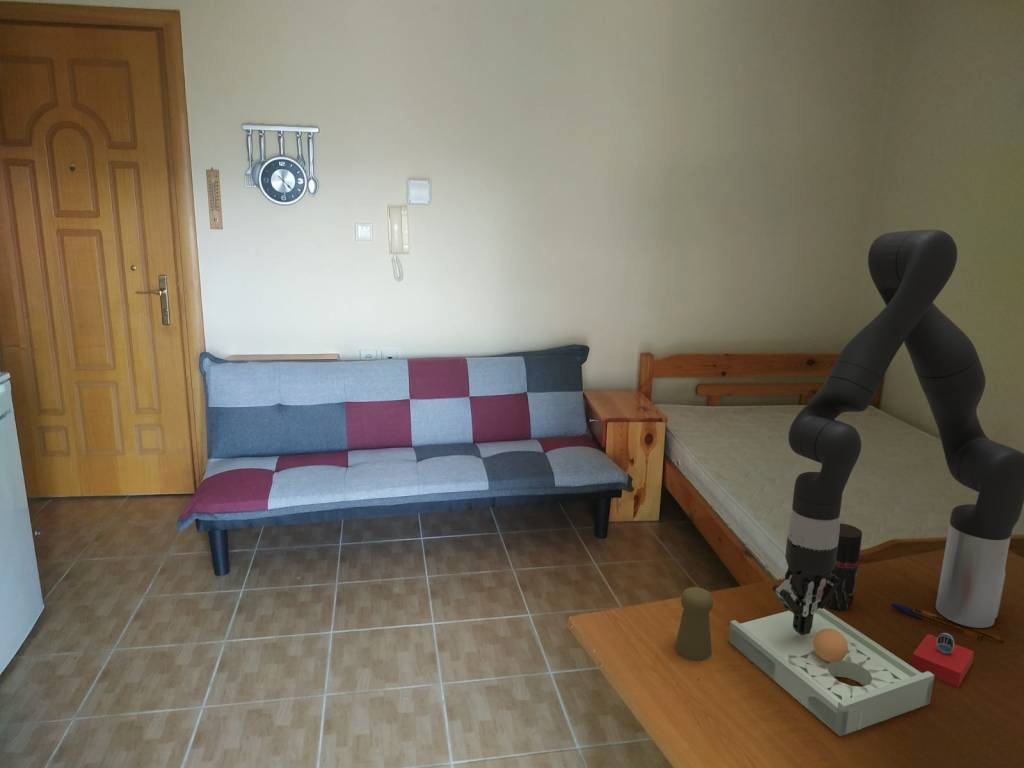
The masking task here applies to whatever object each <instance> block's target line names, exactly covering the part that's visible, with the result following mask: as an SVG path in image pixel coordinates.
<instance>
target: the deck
mask: <svg viewBox="0 0 1024 768" xmlns="http://www.w3.org/2000/svg"><path fill="white" fill-rule="evenodd" d="M793 619H794V614H793V613H792V612H791V611H789V610H786V611H783V612H779V613H774V614H772V615H771V614H770V615H767V616H764V617H761V618H757V619H752V620H749V621H748V620H747V621H745V622H742V623H740V622H738V621H737V620H735V619H734V620H731V621H730V623H729V633H728V643H729V642H730V643H729V644H730V645H732V646H733V647H734V646H735V647H734V648H735V649H737V650H738V651H739V652H740V653H741V654H742V653H743V654H742V655H743V656H745V657H746V658H747V659H748V660H749V661H750V662H752V664H754V665H755V666H756V667H757V668H759V669H760V670H761V671H762V672H763V673H765V674H766V676H768V677H769V678H770V679H772V680H773V681H774V682H775V683H776V684H777V685H779V686H780V687H781V688H782V690H785V691H786V693H788V694H789V695H790V696H791V697H792V698H794V699H795V700H797V702H799V704H801V705H802V706H804V707H805V708H806V710H808V711H809V712H811V713H812V714H813V715H814V716H815V717H816V718H818V719H819V720H820V721H821V722H822V723H823V724H824V725H826V726H827V727H828V728H829V729H831V730H832V731H833V732H834V733H835V734H836V735H837V736H838V737H842V736H846V735H849V734H851V733H854V732H856V731H861V730H862V729H865V728H868V727H871V726H873V725H875V724H879V723H881V722H883V721H887V720H889V719H891V718H894V717H897V716H900V715H902V714H903V715H904V714H905V713H908V712H912V711H914V710H916V709H919V708H922V707H925V706H927V705H930V703H931V699H932V691H933V686H934V685H933V684H934V682H935V681H934V679H935V678H934V674H932V673H931V672H929V671H927V672H924V673H922V672H919V671H918V670H916V669H915V668H913V667H912V666H911V664H909V663H907V662H905V661H904V660H903V659H901V658H900V657H898V656H896V655H895V654H893V653H892V652H891V651H889V650H887V649H886V648H884V647H883V646H881V645H880V644H879V643H877V642H875V641H874V640H873V639H872V638H869V637H868V636H866V635H865V634H863V632H860V631H859V630H858V629H856V628H854V627H853V626H851V625H850V624H848V623H846V622H845V621H843V619H841V618H840V617H837V616H836V615H835V614H833V613H831V611H829V610H827V608H826V609H825V607H824V608H823V609H820V608H818V609H817V611H816V613H815V614H814V615H813V623H812V628H811V631H810V633H809V634H806V635H800V634H799V633H798V632H796V631H795V630H794V628H793ZM823 629H833V630H836V631H838V632H839V633H841V634H842V635H843V636H844V638H845V639H846V641H847V644H848V651H847V654H846V656H845V657H844V658H843V659H842V660H841V661H838V662H828V661H825V660H823V659H822V658H820V657H819V656H818V655H817V653H816V652H815V649H814V646H813V640H814V637H815V635H816V634H817V633H818V632H819V631H820V630H823ZM835 677H836V678H835ZM837 677H838V678H847V679H849V680H853V681H854V682H857V683H859V684H860V685H861V686H858V685H857V686H856V685H849V684H847V683H844V682H842V681H839V680H838V679H837Z"/></svg>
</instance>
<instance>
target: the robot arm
mask: <svg viewBox="0 0 1024 768" xmlns="http://www.w3.org/2000/svg"><path fill="white" fill-rule="evenodd" d="M867 257H868V258H867V266H868V271H869V275H870V277H871V280H872V282H873V284H874V286H875V287H876V289H877V291H878V293H879V296H880V297H881V299H882V300H883V302H884V305H885V307H884V308H883V309H882V310H881V311H880V312H879V314H878V315H877V316H876V317H874V318H873V320H871V321H870V322H869V323H867V325H865V326H864V327H863V328H862V329H861V330H859V332H857V334H855V335H854V337H852V338H851V339H850V340H849V342H848V343H846V345H845V346H844V347H843V349H842V351H841V352H840V353H839V355H838V357H837V359H836V361H835V363H834V364H833V367H832V369H831V371H830V373H829V375H828V377H827V379H826V380H825V383H824V385H823V387H821V389H819V390H818V392H817V393H815V395H814V396H813V397H812V398H811V399H810V401H808V403H807V404H806V405H805V406H804V407H803V408H802V410H800V412H798V414H797V415H796V416H795V418H794V419H793V421H792V422H791V424H790V428H789V431H788V443H789V444H788V445H789V447H790V449H791V450H792V451H793V452H794V453H796V454H797V455H798V456H801V457H802V458H806V459H809V460H812V461H814V462H817V463H820V464H821V469H820V471H805V472H802V473H800V474H798V475H797V477H796V479H795V481H794V482H795V483H794V489H793V498H792V504H791V505H792V506H791V512H790V515H789V520H788V527H787V536H786V547H785V555H784V557H785V560H786V564H787V569H786V570H787V571H786V572H785V574H784V579H785V580H784V581H783V582H782V583H781V584H780V585H779V584H774V585H773V586H772V591H773V594H774V595H775V596H776V597H777V599H778V600H779V601H780V603H781V604H782V606H783V607H784V608H785V609H786V610H787V611H791V612H792V613H793V614H794V619H793V628H794V630H795V631H796V632H798V633H799V634H800V635H806V634H809V633H810V631H811V628H812V623H813V615H814V614H815V613H816V611H817V609H818V608H820V609H823V608H824V609H825V608H826V607H825V605H826V604H827V602H828V601H829V599H830V598H831V596H832V595H833V593H834V592H835V590H836V589H837V588H838V586H839V585H840V583H841V579H840V578H838V577H837V576H835V575H833V574H832V570H833V569H834V568H835V563H836V555H837V547H838V540H839V531H840V523H841V522H840V521H841V519H840V518H841V517H840V516H841V508H842V500H843V494H844V493H843V492H844V490H845V489H846V485H847V483H848V481H849V478H850V476H851V474H852V472H853V469H854V467H855V465H856V464H857V462H858V459H859V457H860V454H861V452H862V451H861V450H862V439H861V437H860V434H859V432H858V430H857V429H856V428H855V427H854V426H853V425H851V424H849V423H847V422H843V421H840V420H837V419H836V418H838V417H839V416H841V414H843V413H849V412H850V413H858V412H859V413H860V412H863V411H865V410H867V408H868V407H869V406H870V404H871V402H872V400H873V398H874V396H875V394H876V392H877V390H878V389H879V386H880V384H881V383H882V381H883V378H884V376H885V374H886V372H887V370H888V368H889V367H890V365H891V363H892V361H893V360H894V358H895V356H896V354H897V353H898V351H899V350H900V349H901V347H902V345H903V344H904V345H905V348H906V350H907V353H908V355H909V358H910V360H911V364H912V366H913V369H914V371H915V373H916V376H917V379H918V382H919V384H920V387H921V389H922V392H924V393H923V394H924V396H925V397H926V400H927V403H928V406H929V407H930V411H931V413H932V417H933V419H934V421H935V422H934V423H935V424H936V427H937V430H938V433H939V438H940V442H941V445H942V449H943V453H944V459H945V461H946V465H947V468H948V471H949V473H950V474H951V476H952V478H953V479H955V481H957V482H958V483H959V484H961V485H962V486H965V487H967V488H968V489H970V490H973V491H975V492H977V493H978V495H977V499H976V502H975V504H974V503H973V504H970V503H968V504H967V503H966V504H960V505H957V506H955V507H954V508H953V509H952V511H951V514H950V519H949V523H948V524H949V525H948V530H947V535H946V537H947V538H946V543H945V549H944V554H943V555H944V556H943V560H942V567H941V572H940V577H939V578H940V579H939V585H938V590H937V595H936V596H937V597H936V601H935V602H936V603H935V608H936V611H937V612H938V614H940V615H941V616H942V617H943V618H945V619H947V620H949V621H951V622H953V623H956V624H959V625H961V626H965V627H970V628H975V629H976V628H977V629H984V628H985V629H986V628H989V627H992V626H993V625H995V622H996V618H998V615H999V609H1000V606H1001V601H1002V595H1003V589H1004V585H1005V580H1006V574H1007V572H1006V571H1007V570H1006V564H1007V559H1008V554H1009V547H1010V543H1011V539H1012V533H1013V529H1014V528H1015V526H1016V524H1017V522H1018V521H1019V519H1020V516H1021V514H1022V510H1023V506H1024V453H1023V452H1022V451H1020V450H1018V449H1016V448H1012V447H1010V446H1007V445H1005V444H1003V443H1000V442H996V441H994V440H991V439H990V438H989V437H988V436H987V435H986V434H985V432H984V430H983V428H982V426H981V423H980V420H979V418H978V414H977V408H978V406H979V403H980V402H981V399H982V397H983V394H984V393H985V391H984V390H985V387H986V375H985V371H984V369H983V366H982V362H981V360H980V357H979V354H978V352H977V351H978V350H976V347H975V345H974V343H973V342H972V341H971V339H970V338H969V337H968V336H967V334H966V333H965V332H964V331H963V330H962V329H961V328H960V327H958V325H957V324H955V322H953V321H952V320H951V319H950V318H949V317H948V316H947V315H946V314H945V313H944V312H942V310H940V308H938V307H937V305H936V304H935V303H934V301H936V298H937V297H938V296H939V295H940V293H941V291H942V290H943V289H944V287H945V286H946V285H947V283H948V281H949V280H950V278H951V276H952V274H953V272H954V270H955V268H956V264H957V261H958V248H957V244H956V242H955V240H954V238H953V237H952V235H950V234H949V233H948V232H946V231H943V230H939V229H917V230H916V229H914V230H903V231H901V230H900V231H892V232H887V233H883V234H881V235H879V236H878V237H877V238H875V239H874V240H873V242H872V244H871V245H870V248H869V251H868V256H867ZM835 419H836V420H835ZM822 593H824V595H823V597H822Z"/></svg>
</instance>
